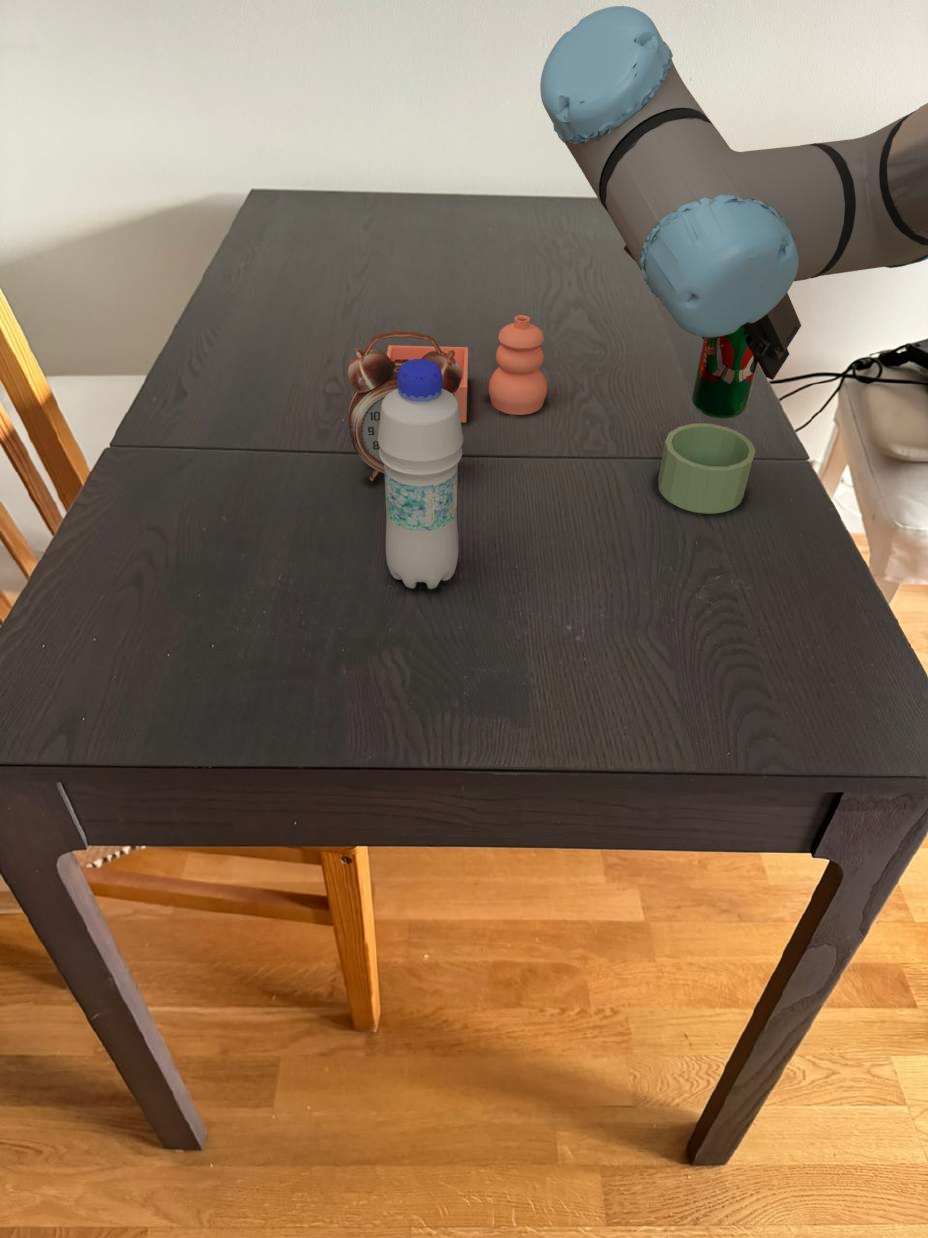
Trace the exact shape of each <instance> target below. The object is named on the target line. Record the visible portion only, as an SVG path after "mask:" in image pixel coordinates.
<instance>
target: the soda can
mask: <svg viewBox="0 0 928 1238" xmlns="http://www.w3.org/2000/svg"><path fill="white" fill-rule="evenodd" d="M751 340H752V338H751V337H750V336H749V335H748V333H747V332H746V331H745V330H744V329H743V327H742V326H740V327H739V328H738V329H737V330H736V331H735V332H734V333H732V334H728V335H724V336H720V337H704V340H702V347H701V350H700V356H699V360H698V361H699V362H698V367H697V371H696V375H695V381H694V386H693V391H692V396H691V401H692V404H693V405H694V407H695V408H696V410H697V411H698V412H699V413H700V414H702V415H704V416H707V417H709V418H713V419H723V420H724V419H733V418H736V417H738V416H740V415H741V414H743V412H745V411H746V410H747V408H748V405H749V402H750V397H751V393H752V390H753V385H754V381H755V377H756V373H757V369H758V365H759V363H758V361H757V359H756V357H755V356H754V354H753V353H752V352H751V348H750V346H749V344H750V342H751Z"/></svg>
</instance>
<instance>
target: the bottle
mask: <svg viewBox="0 0 928 1238" xmlns="http://www.w3.org/2000/svg"><path fill="white" fill-rule="evenodd" d="M397 380H398V389H396V390H393V391H392V392H390V393H389V394H388V395H386V397H385V398H384V399H383V401H382V405H381V414H380V424H379V433H378V444H379V447H380V449H379V455H380V458H381V460H382V462H383V463H384V473H383V474H384V491H385V492H384V494H385V495H384V496H385V513H386V525H385V558H386V564H387V568H388V571H389V573H390V574H391V575H390V576H392V577H393V578H394V579H395V580H397V581H398V580H399V581H400V580H401V581H402V582H403V585H404V586H405V587H407V588H408V589H415V588H416V587H417V583H425V585H426V588H427V589H428V590H433V589H436V588H437V587H438V585H440V582H441V581H442V582H443V581H445V582H446V581H449V580H450V579H451V578H453V576H454V574H455V571H456V568H457V565H458V559H459V551H460V549H459V548H460V547H459V531H458V530H459V528H458V473H459V471H458V469H459V468H458V467H459V466H458V465H459V462H460V461H461V459H462V456H463V448H462V446H463V443H464V434H463V428H462V422H461V421H460V412H459V404H458V401H457V399H456V398H455V397H454V396H453V395H452V394H451V393H450V392H448V391H446V390H444V389H442V386H443V377H442V371H441V369H440V367H439V366H438V365H437V364H436V363H435V362H433V361H430V360H427V359H413V360H409V361H407V362H405V363H403V364H402V366H401V367H400V368H399V371H398V376H397Z"/></svg>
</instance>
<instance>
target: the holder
mask: <svg viewBox="0 0 928 1238" xmlns="http://www.w3.org/2000/svg"><path fill="white" fill-rule="evenodd" d="M755 455H756V449H755V447H754V444H753V442H752V441H751V440H750V439H749V438H747V436H745V435H743V434H742V433H741V432H739V431H737V430H735V429H732V428H731V427H728V426H723V425H718V424H713V423H699V422H698V423H688V424H685V425H680V426H678V427H675V428H674V429H673V430H671V431H669V432H668V434H667V436H666V438H665V439H664V444H663V451H662V455H661V461H660V467H659V472H658V477H657V488H658V491H659V493H660V494H661V496H662V497H663V498H664V499H665V500H666V501H667V502H669V503H670V504H672V505H673V506H675V507H678V508H679V509H682V510H685V511H689V512H692V513H697V514H708V515H709V514H710V515H711V514H712V515H713V514H722V513H726V512H729V511H732V510H734V509H735V508H737V507H738V506H739V505H740V504H741V503H742V501H743V499H744V496H745V493H746V490H747V486H748V482H749V478H750V475H751V471H752V467H753V463H754V459H755Z"/></svg>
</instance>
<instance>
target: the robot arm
mask: <svg viewBox="0 0 928 1238" xmlns="http://www.w3.org/2000/svg"><path fill="white" fill-rule="evenodd" d="M673 57H674V53H673V52H672V50H671V47H670V46H669V45H668V44H667V43H666V42H665V41H664V40H663V37H662V36H661V34H660V32H659V30H658V28H657V26H656V24H655V22H654V21H653V20H652V19H651V18H650V16H649V15H647V13H645V12H643V11H641V10H640V9H638V8H635V7H631V6H625V5H614V6H608V7H605V8H600V9H598V10H596V11H593V12H591V13H589V14H588V15H585V16H584V17H582V18H581V19H580V20H579V21H578V23H577V24H576V25H575V26H573V27H572V28H571V29H570V30H568V31H566V32H564V33H563V34H562V36H561V37H560V38H559V39H558V40H557V42H556V43H555V44H554V46H553V47H552V49H551V50H550V52H549V54H548V56H547V58H546V59H545V62H544V65H543V68H542V72H541V76H540V83H539V86H540V88H539V89H540V99H541V103H542V105H543V107H544V109H545V112H546V114H547V116H548V117H549V119H550V121H551V123H552V124H553V131H554V132H555V133H556V135H557V137H558V138H559V139H560V140H561V142H562V143H564V144H565V146H566V147H567V149H568V151H569V153H570V154H571V156H572V157H573V159H574V161H575V162H576V164H577V165H578V167H579V168H580V170H581V172H582V174H583V176H584V177H585V179H586V180H587V182H588V184H589V185H590V187H591V189H592V190H593V192H594V194H595V195H596V197H597V199H598V201H599V202H600V204H601V206H602V207H603V208H604V210H605V211H606V212H607V214H608V216H609V217H610V219H611V221H612V223H613V225H614V226H615V228H616V230H617V231H618V233H619V235H620V236H621V238H622V240H623V243H624V244H625V245H624V247H623V250H624V252H625V253H626V254H627V255H628V256H629V257H630V258H631V259H632V260H633V261H634V262H635V263H636V264H637V267H638V268H639V270H640V271H641V274H642V276H643V281H644V282H645V283H646V285H647V287H648V288H649V290H650V292H651V293H652V294H653V295H654V296H656V298H658V299H659V300H660V302H661V304H662V305H663V306H664V307H665V309H666V311H668V313H669V315H670V316H671V318H672V319H673V320H674V322H675V323H676V324H677V325H678V326H679V328H681V329H682V330H683V331H684V332H686V333H688V334H691V335H693V336H696V337H701V338H702V341H704V337H720V336H724V335H728V334H732V333H734V332H735V331H736V330H737V329H738V328H739V327H740V326H742V327H743V329H744V330H745V331H746V332H747V333H748V335H749V336H750V337H751V338H752V340H751V342H750V344H749V346H750V348H751V352H752V353H753V354H754V356H755V357H756V359H757V361H758V365H759V367H760V369H761V371H762V373H763V375H764V376H765V378H766V379H769V380H772V381H773V380H774V379H775V378H776V376H777V375H778V373H779V372H780V369H782V367H783V365H784V363H785V362H786V361H787V359H788V357H789V356H790V352H789V349H788V348H789V346H790V345H791V342H792V341H793V340H794V338H795V337H796V335H797V333H798V332H799V330H800V329H801V327H802V324H801V321H800V319H799V317H798V314H797V311H796V309H795V307H794V305H793V303H792V302H793V301H792V300H791V297H790V295H789V291H790V289H791V287H792V285H793V283H795V282H801V281H806V280H810V279H815V278H818V277H823V276H831V275H838V274H843V273H850V272H851V273H852V272H859V271H865V270H872V269H878V268H879V269H880V268H887V269H893V268H895V269H896V268H903V267H905V266H909V265H913V264H916V263H920V262H923V261H926V260H928V102H926V103H925V104H923V105H920V107H918V108H917V109H916V110H914V111H912V112H910V113H909V114H906V115H904V116H902V117H900V118H898V119H896V120H895V121H892V122H891V123H888V124H887V125H885V126H883V127H881V128H879V129H878V130H876V131H874V132H871V133H870V134H869V133H868V134H866V135H864V136H860V137H857V138H849V139H841V140H840V139H839V140H832V141H824V142H813V143H808V144H801V145H793V146H792V145H791V146H782V147H773V148H763V149H754V150H745V151H737V150H733V149H732V148H731V147H730V146H729V144H728V143H727V141H726V140H725V138H724V137H723V136H722V135H721V133H720V131H719V130H718V129H717V127H716V126H715V124H714V123H713V122H712V120H711V119H710V118H709V117H708V116H707V113H706V112H705V111H704V110H703V108H702V107H701V106H700V104H699V103H698V101H697V100H696V99H695V97H694V95H693V94H692V93H691V91H690V90H689V88H688V87H687V85H686V84H685V82H684V81H683V79H682V77H681V76H680V73H679V72H678V70H677V67H676V66H675V64H674V61H673Z"/></svg>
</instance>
